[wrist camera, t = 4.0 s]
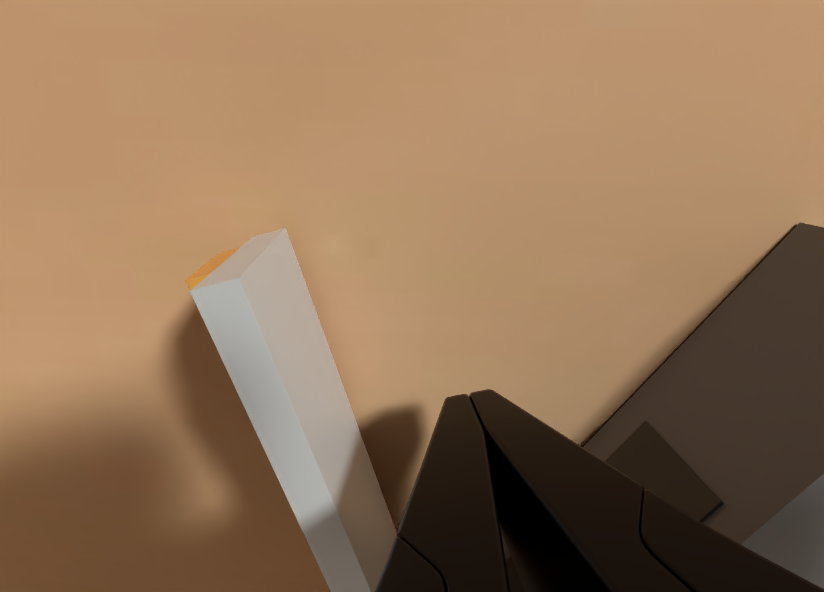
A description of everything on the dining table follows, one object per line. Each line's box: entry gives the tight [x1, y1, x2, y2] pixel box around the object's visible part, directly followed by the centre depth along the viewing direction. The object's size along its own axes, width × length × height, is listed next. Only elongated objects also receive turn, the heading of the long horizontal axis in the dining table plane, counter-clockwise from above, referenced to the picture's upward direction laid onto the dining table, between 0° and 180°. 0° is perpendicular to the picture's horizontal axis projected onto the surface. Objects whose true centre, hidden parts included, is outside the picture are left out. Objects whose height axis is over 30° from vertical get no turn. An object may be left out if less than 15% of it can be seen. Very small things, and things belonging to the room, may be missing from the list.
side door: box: [185, 228, 397, 592], centre depth 8 cm, size 11×1×3 cm, turn 14°
